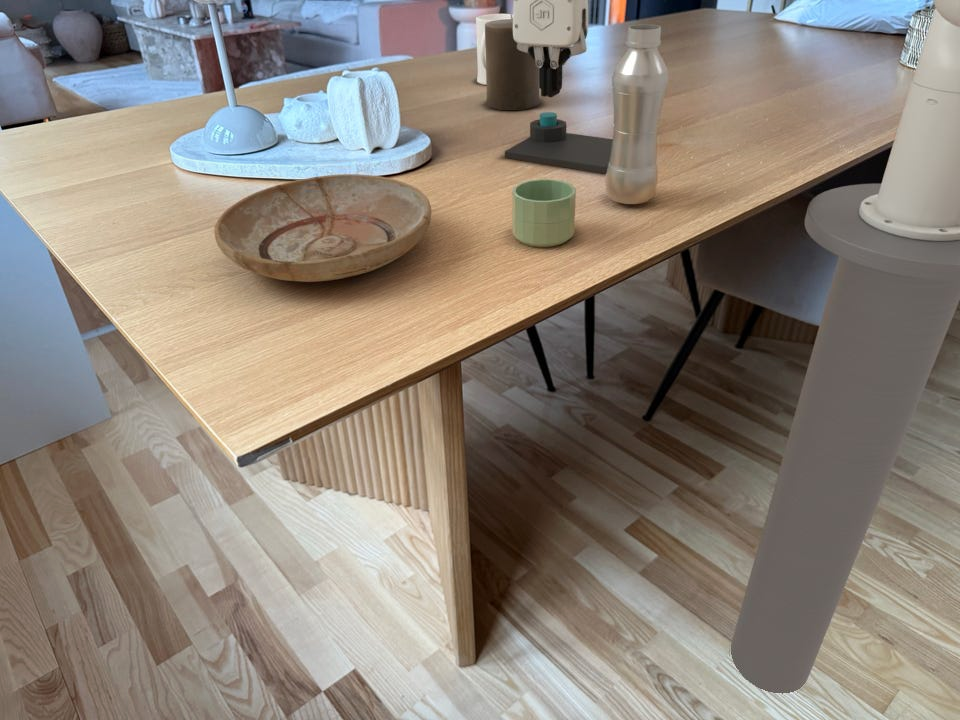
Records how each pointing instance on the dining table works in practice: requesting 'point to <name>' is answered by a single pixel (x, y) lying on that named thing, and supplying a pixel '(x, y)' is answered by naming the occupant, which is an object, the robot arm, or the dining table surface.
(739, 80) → the dining table surface
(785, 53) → the dining table surface
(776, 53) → the dining table surface
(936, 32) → the robot arm
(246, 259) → the ceramic bowl
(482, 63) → the mug
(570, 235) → the green cup
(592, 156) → the scale
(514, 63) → the pillar candle
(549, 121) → the button
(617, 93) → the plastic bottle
